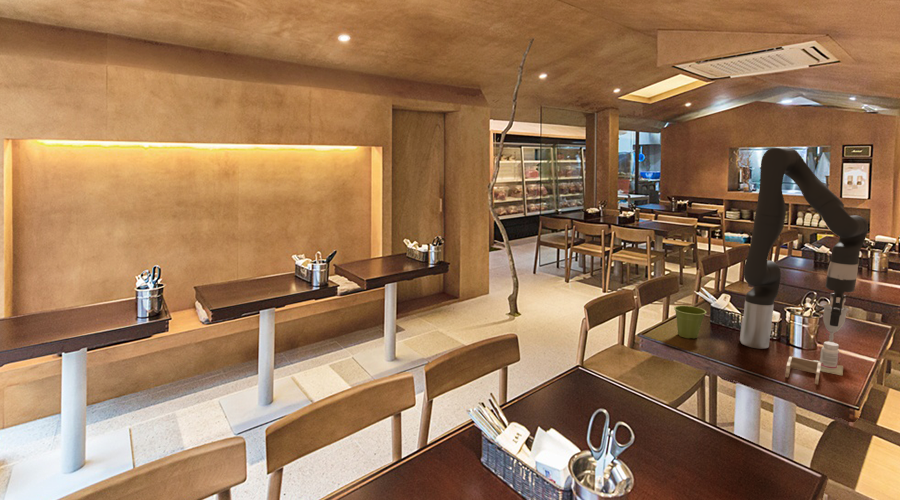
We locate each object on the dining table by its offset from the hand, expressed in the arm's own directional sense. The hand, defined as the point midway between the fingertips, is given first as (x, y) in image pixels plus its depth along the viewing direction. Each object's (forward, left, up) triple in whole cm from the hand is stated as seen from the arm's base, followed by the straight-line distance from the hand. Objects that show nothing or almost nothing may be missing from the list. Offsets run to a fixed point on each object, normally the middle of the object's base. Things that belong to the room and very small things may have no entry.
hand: (833, 322), depth 157 cm
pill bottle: (0, 0, -16) cm, 16 cm away
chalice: (-12, +10, -17) cm, 23 cm away
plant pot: (-32, -32, -17) cm, 48 cm away
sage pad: (0, 0, -17) cm, 17 cm away
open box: (+5, -12, -17) cm, 21 cm away
